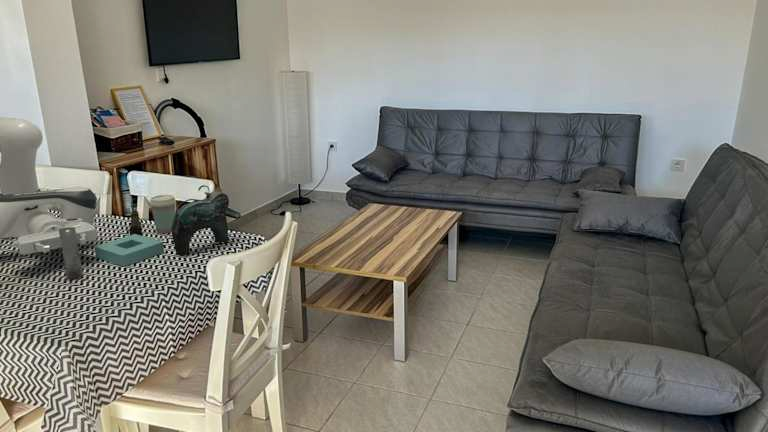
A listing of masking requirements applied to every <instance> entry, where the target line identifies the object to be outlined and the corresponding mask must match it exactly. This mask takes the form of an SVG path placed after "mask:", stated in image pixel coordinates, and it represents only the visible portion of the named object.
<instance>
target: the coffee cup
mask: <svg viewBox="0 0 768 432" xmlns="http://www.w3.org/2000/svg"><path fill="white" fill-rule="evenodd" d="M176 203H177V199H176V198H175V197H174V195H172V194H159V195H154V196H152V197H150V201H149V206H150V208H151V212H152V217H153V220H154V224H155V228H156V232H157V233H158V234H170V233H171V234H172V230H171V228H172V223H173V219H174V216H175V213H176Z"/></svg>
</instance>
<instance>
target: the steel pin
mask: <svg viewBox="0 0 768 432" xmlns="http://www.w3.org/2000/svg"><path fill="white" fill-rule="evenodd" d="M59 235H60V241H61V246H62V247H61V250H62V251H61V252H62V256H63V263H64V264H63V265H64V269H65V274H66V279H67V280H69V281H71V280H72V281H73V280H74V281H75V280H79V279H81V278H83V276H84V274H83V269H82V268H83V267H82V262H81V256H80V250H79V246H78V242H77V236H76V230H75V228H73V227H68V228H63V229H60V230H59Z"/></svg>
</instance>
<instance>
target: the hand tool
mask: <svg viewBox="0 0 768 432" xmlns="http://www.w3.org/2000/svg"><path fill="white" fill-rule="evenodd" d="M141 225H142V223H141V221H140V215H139V211H138V210H136V209H135V210H134V209H133V210H132V211H131V213H130V226H129V229H128V233H129V236H130V235H133V234H137V235H140V236H142V234H143V233H142V231H143V227H142V226H141Z"/></svg>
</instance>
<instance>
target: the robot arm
mask: <svg viewBox="0 0 768 432" xmlns="http://www.w3.org/2000/svg"><path fill="white" fill-rule="evenodd" d="M43 139H44V138H43V133H42V131H41V129H40V128H39V127H38V126H37V125H36V124H34V123H32V122H31V121H28V120H26V119H23V118H22V119H21V118H13V117H4V116H0V240H1V239H7V238H17V239H16V240H14V241H13V243H12V244H13V246H15V247H18V251H19V254H21V255H30V254H34V253H40V252H42V253H44V254H46V253H50V251H51V250H58V249H61V248H62V246H61V241H60V235H59V230H60V229H63V228H68V227H73V228H75V230H76V236H77V242H78V247H81V246H83V245H87V242H91V241H96V240H97V239H98V232H97V228H96V227H95V226H94V222H95V221H94V220H95V209H96V206H97V201H98V197H97V196H96V194H95V193H94V192H93V191H92V190H91V188H88V187H84V186H73V187H68V188H60V189H59V188H58V189H50V190H41V189H40V188H39V183H38V178H37V177H38V176H37V172H36V171H37V170H36V162H37V161H36V159H37V152H38V150H39V148H40V147H41V145H42V143H43ZM56 204H57V205H58V204H59V205H60V211H59V218H58V217H57V216H55V215H54V214H52V213H50V212H49V209H48V205H56Z"/></svg>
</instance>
